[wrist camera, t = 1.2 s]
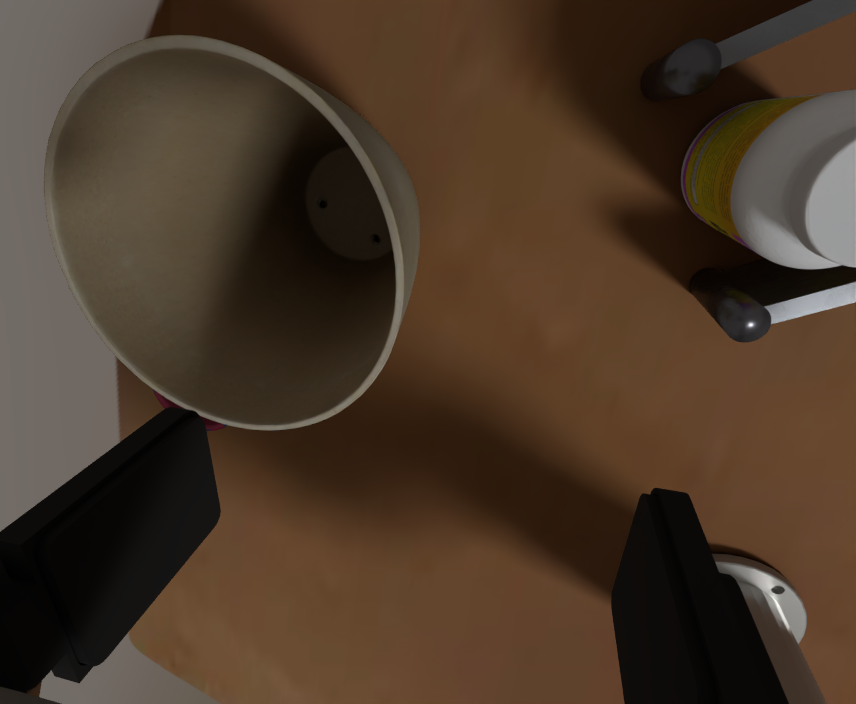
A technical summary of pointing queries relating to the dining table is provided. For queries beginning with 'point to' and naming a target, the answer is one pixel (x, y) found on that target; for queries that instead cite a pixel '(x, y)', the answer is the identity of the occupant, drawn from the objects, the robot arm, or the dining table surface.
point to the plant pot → (231, 230)
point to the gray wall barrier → (765, 280)
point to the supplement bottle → (780, 178)
